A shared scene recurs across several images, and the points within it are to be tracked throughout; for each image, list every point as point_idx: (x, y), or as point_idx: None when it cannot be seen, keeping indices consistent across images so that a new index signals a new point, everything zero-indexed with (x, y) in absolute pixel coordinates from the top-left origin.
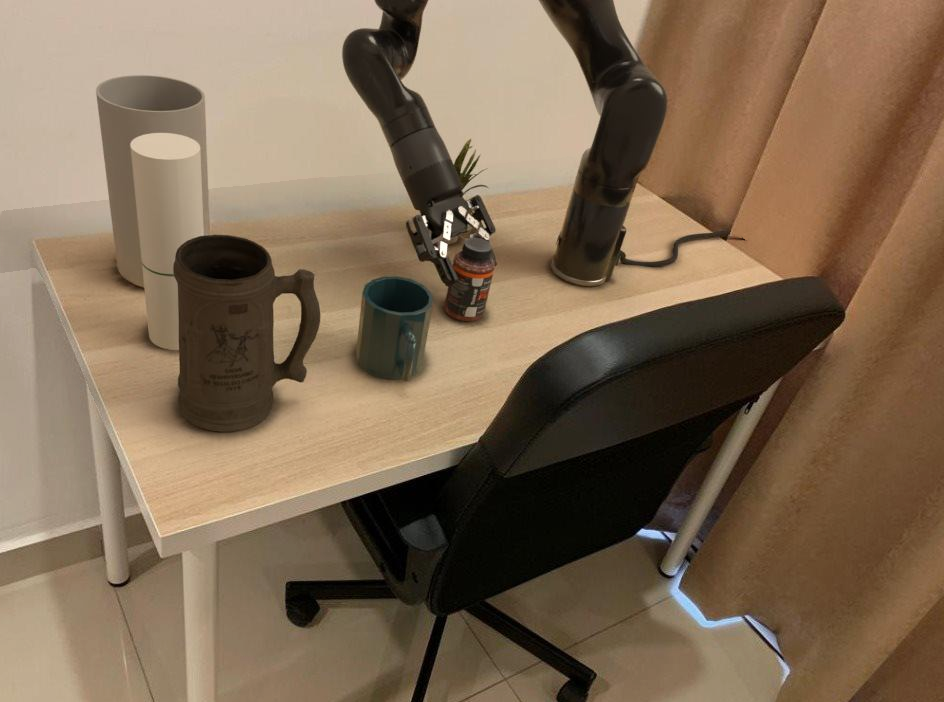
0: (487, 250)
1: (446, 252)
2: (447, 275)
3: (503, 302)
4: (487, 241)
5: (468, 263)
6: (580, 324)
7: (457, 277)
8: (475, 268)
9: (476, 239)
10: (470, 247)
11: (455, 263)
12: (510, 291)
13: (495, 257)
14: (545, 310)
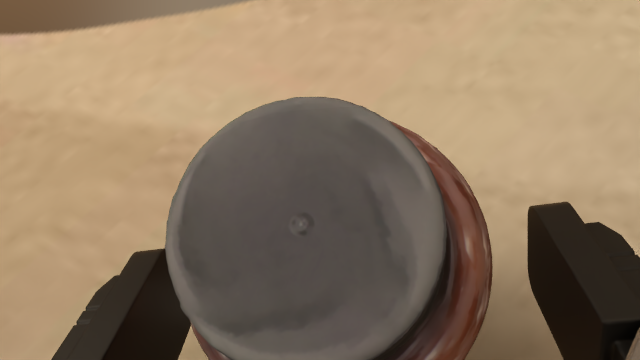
0: (301, 99)
1: (636, 347)
2: (621, 244)
3: None
4: (169, 228)
5: (446, 200)
6: (49, 35)
7: (538, 212)
8: (422, 145)
9: (239, 309)
10: (425, 205)
11: (484, 314)
12: (71, 315)
13: (100, 290)
14: (72, 147)
